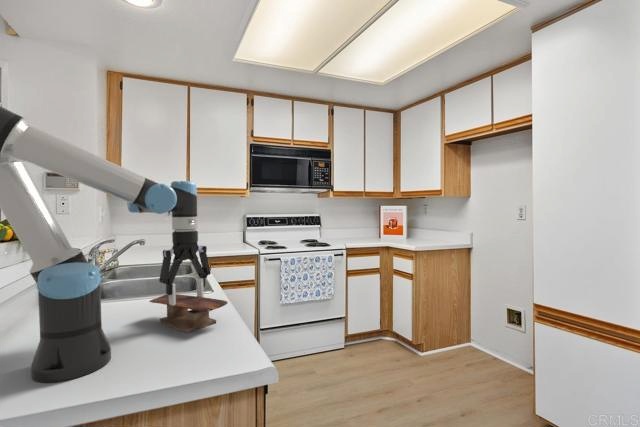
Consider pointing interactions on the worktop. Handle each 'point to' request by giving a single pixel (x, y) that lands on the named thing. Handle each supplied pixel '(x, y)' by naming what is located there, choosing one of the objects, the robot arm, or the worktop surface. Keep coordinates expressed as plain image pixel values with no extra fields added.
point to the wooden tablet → (192, 302)
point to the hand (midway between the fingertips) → (186, 301)
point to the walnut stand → (186, 319)
